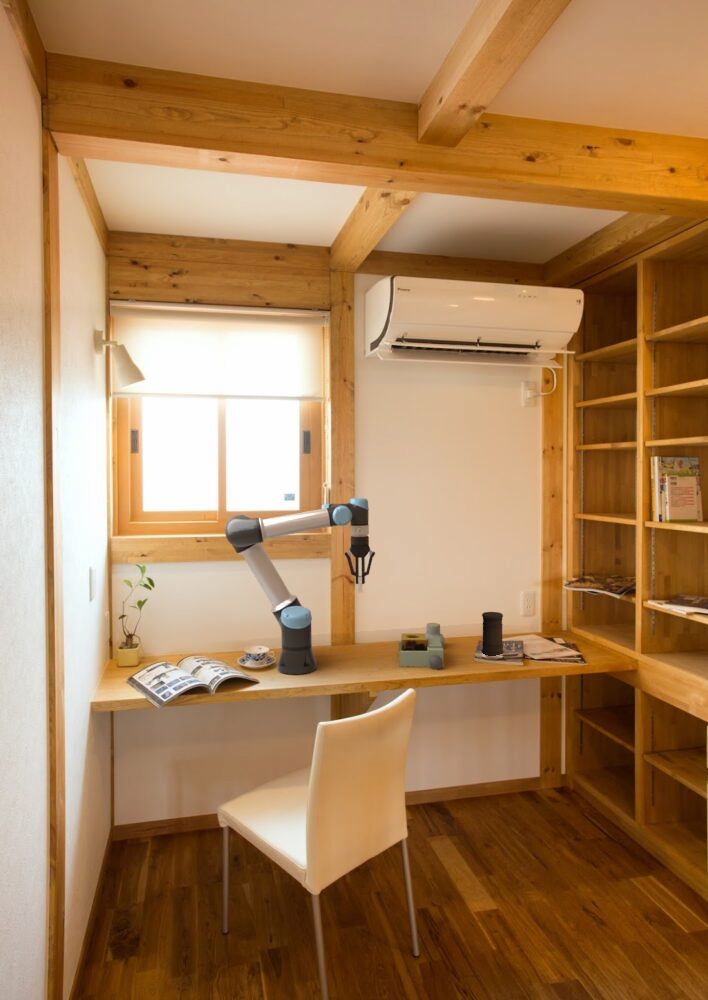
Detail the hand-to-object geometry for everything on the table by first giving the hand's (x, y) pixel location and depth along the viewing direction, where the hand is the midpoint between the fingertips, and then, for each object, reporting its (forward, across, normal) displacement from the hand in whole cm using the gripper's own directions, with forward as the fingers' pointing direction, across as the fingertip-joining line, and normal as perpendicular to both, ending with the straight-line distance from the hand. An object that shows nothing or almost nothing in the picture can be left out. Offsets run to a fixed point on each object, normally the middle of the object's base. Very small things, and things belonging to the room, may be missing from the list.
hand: (360, 591), depth 270 cm
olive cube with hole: (+27, +22, -8) cm, 35 cm away
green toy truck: (+26, +24, -9) cm, 37 cm away
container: (+27, +54, -3) cm, 60 cm away
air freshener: (+27, +31, +11) cm, 42 cm away
